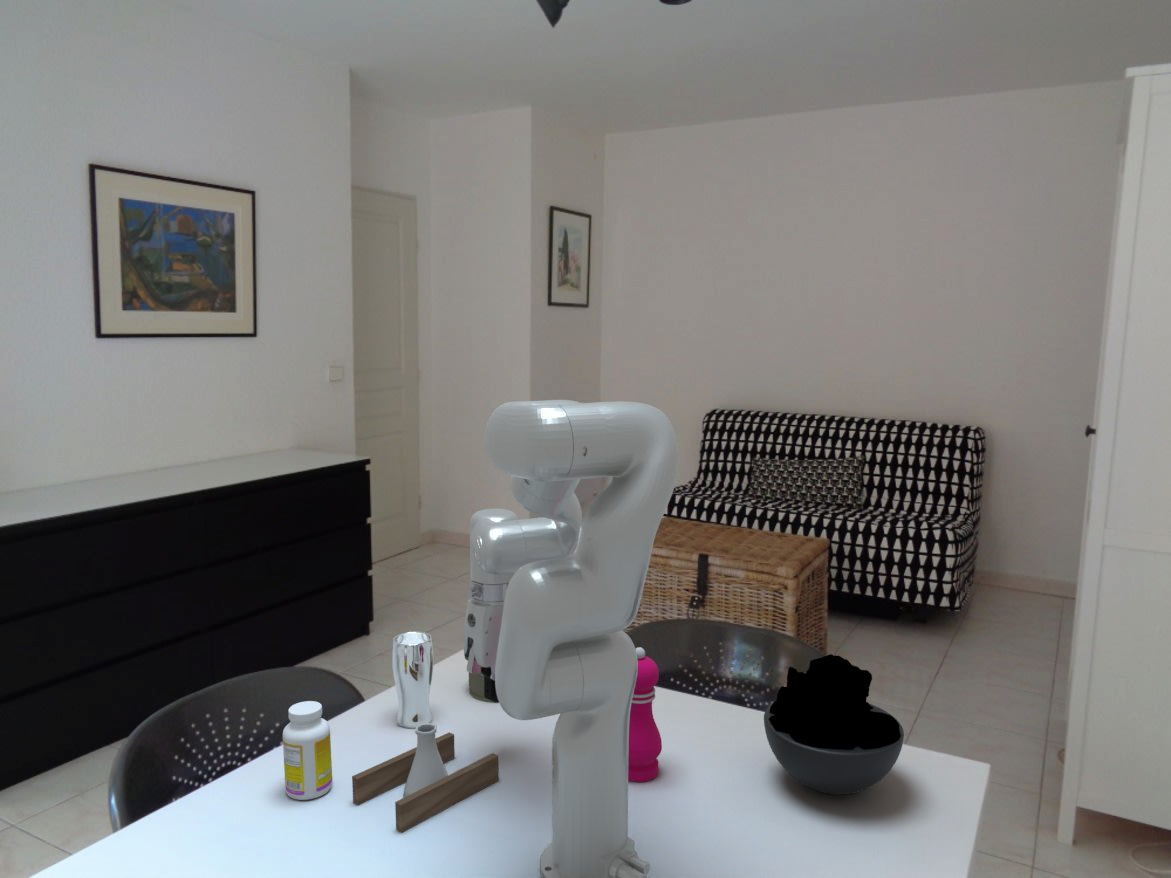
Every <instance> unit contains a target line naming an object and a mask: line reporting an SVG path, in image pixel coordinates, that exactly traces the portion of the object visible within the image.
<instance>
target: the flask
mask: <svg viewBox="0 0 1171 878" xmlns="http://www.w3.org/2000/svg"><path fill="white" fill-rule="evenodd" d="M414 729H415V730H414V733H415V735H416V736H417V740H416V741H417V743H416V747H417V750H416V754H415V757H414V760H413V764H412V767H411V770H410V773H409V776H408V778H407V781H406V782H405V785H404V788H403V794H402V795H403V796H402V798H404V797H406V796H408V795H410V794H412V793H414V792H416V791H418V790H420V789H422V788H424V787H426V786H428V785H430V784H432V783H434V782H436V781H438V780H440V779H442V778H444V777H446V776H448V775H449V773H448V771H447V769H446V766H445V763H444V764H443V762H442V759H441V757H440V754H439V751H438V749H437V744H436V739H435V738H436V733H437V729H438V724H434V723H432V722H430V723H421V724H420V725H418V726H416V728H414Z"/></svg>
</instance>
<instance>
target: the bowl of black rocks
mask: <svg viewBox="0 0 1171 878" xmlns="http://www.w3.org/2000/svg"><path fill="white" fill-rule="evenodd" d="M787 669H788V670H787V673H786V674H787V675H786V686H784V685H782V686H780V687H779V689H778V691H777V696H776V700H775V701H773V702H772V703H770V704H769V705H768V706H767V708H766V709H765V711H764V713H763V714H764V715H763V725H764V731H765V735H766V740H767V743H768V745H769V747H770V749H771V751H772V754H773V755H774V756H775V759H776V760H777V761H778V763H779V764H780V766H781V767H783V770H785V771H786V772H787V773H788V774H789V775H791V777H792V778H794V779H795V780H796V781H798V782H799V783H801V784H803V785H805V786H806V787H808V788H810V789H812V790H814V791H817V792H821V793H824V794H825V793H826V794H831V795H832V794H833V795H849V794H850V795H851V794H855V793H858V792H863V791H865V790H867V789H869V788H871V787H873V786H874V785H876V784H878V783H879V782H880V781H882V780H883V779H884V778H885V777H886V776H887V775H888V774H889V772H891V770H892V768H893V767H894V766H895V764H896V763H897V760H898V758H899V757H900V754H901V751H902V748H903V744H904V739H905V732H904V729H903V726H902V724H901V723H900V721H899V720H898V719H897V718H896V717H895V716H893V714H891V713H889V712H888V711H886V710H885V709H883V708H881V707H879V706H876V705H874V704H872V703H869V701H867V698H869V696H870V687H871V684H872V681H873V674H872V673H871V672H870V671H869V670H867V669H861V668H859V666H856V665H854V664H852V663H851V661H849V659H847V658H844V657H842V656H840V655H833V654H831V653H829V654H827V655H825V656H821V657H818V658H813V659H811V660H810V661H809V667H808V669H807V670H806V672H805V673H804V672H803V671H798V670H797V669H796V668H794V667H793V666H789V667H788V668H787Z"/></svg>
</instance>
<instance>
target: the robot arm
mask: <svg viewBox="0 0 1171 878" xmlns="http://www.w3.org/2000/svg"><path fill="white" fill-rule="evenodd" d="M484 449H485V453H486V456H487V458H488V461H489V462H490V464H491V465H492V466H493V467H494V468H495V469H496V470H498V471H499V472H501V473H503V474H506V475H509V476H510V484H509V486H510V490H511V495H512V496H513V498H514V499H515V501H516V502H517V503H518V505H520V506H521V507H522V508H524V509H525V510H526V511H528V512H530V513H532V514H534V515H536V516H540V517H533V518H532V517H531V518H522V519H519V517H518V515H517V514H516V513H515V512H514V511H512V510H509V509H506V508H484V509H481V510H477V511H476V512H475V513H473V514H472V516H471V518H470V522H469V524H470V525H469V536H470V537H469V538H470V539H469V541H470V542H469V545H470V547H469V548H470V549H469V550H470V551H469V553H470V554H469V555H470V557H469V558H470V560H469V561H470V562H469V563H470V567H469V568H470V577H469V578H470V579H469V580H470V581H469V582H470V583H469V584H470V585H469V586H470V588H469V589H467V590H466V595H467V597H468V598H469V599H468V600H467V605H466V611H465V618H464V628H463V654H464V659H465V660H466V661H467V665H466V672H467V673H469V672H470V673H472V674H477V673H481V675H483V676H484V696H485V698H487V699H489V700H491V701H493V702H495V703H494V704H499V705H500V707H501V708H502V710H503V711H504V713H506V715H507V716H509V717H511V718H512V719H515V720H518V721H532V720H538V719H542V718H546V717H552V716H555V715H558V718H557V721H556V724H555V727H554V729H553V734H552V741H551V744H552V745H551V761H552V762H551V767H552V768H551V775H552V776H551V780H552V781H551V785H552V786H551V787H552V788H551V789H552V790H551V794H552V795H551V796H552V797H551V799H552V801H551V803H552V804H551V807H552V812H551V813H552V814H551V815H552V818H551V820H552V821H551V823H552V825H551V826H552V827H551V828H552V832H551V834H552V835H551V837H552V838H551V839H552V841H551V843H549V844H548V845H547V846H546V847H545V848H544V850H543V851H542V854H541V855H540V860H539V870H540V875H541V878H647V875H648V873H649V872H650V870H651V864H650V863H649V862H647V861H644V860H643V859H641V858H640V857H639V855H638V852H637V851H636V848H635V840H634V839H632V838H630V837H628V836H629V832H628V831H629V824H628V823H629V780H628V753H629V721H630V710H631V703H632V698H633V693H634V688H635V684H636V678H637V669H638V660H637V653H636V646H635V643H633V640H632V639H631V637H630V636H629V635H628V633H626V631H624V630H625V629H626V628H628V627H630V625H631V624H633V622H634V620H635V619H636V617H637V613H638V610H639V608H640V604H641V601H642V598H643V597H642V596H643V592H644V587H645V583H646V579H647V574H648V569H649V566H650V562H651V556H652V552H653V548H654V547H653V546H654V542H655V538H656V535H657V532H658V530H659V527H660V524H661V522H662V519H663V517H664V514H665V513H666V510H667V508H668V505H669V503H670V501H671V498H672V495H673V492H674V489H675V487H676V482H677V478H678V473H679V472H678V471H679V458H680V457H679V446H678V440H677V435H676V432H675V429H674V427H673V424H672V421H670V419H669V417H668V416H667V415H666V414H665V413H664V412H663V411H662V410H660V408H657V407H655V406H653V405H650V404H647V403H643V402H636V401H622V400H621V401H599V402H598V401H595V402H594V401H593V402H579V401H576V400H571V399H570V400H569V399H549V400H548V399H547V400H524V401H523V400H522V401H510V402H509V401H508V402H504V403H502V404H500V405H498V406H497V407H496V408H495V410H494V411H493V412H492V413H491V415H490V416H489V419H488V420H487V423H486V427H485V432H484ZM606 477H612V479H611V482H609V484H608V485H607V486H606V487H605V488H604V489H603V490H602V491H601V492H600V493H599V494H598V496H596V498H595V499H594V500H593V501H592V503H591V504H590V506H589V508H588V509H587V511H586V512H585V514H584V516H583V512H582V507H581V504H580V501H579V498H578V497H577V494H576V493H575V491H576V488H577V486H578V485H579V483H580V481H581V480H584V479H597V478H606ZM498 702H499V703H498Z"/></svg>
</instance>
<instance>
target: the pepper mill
mask: <svg viewBox="0 0 1171 878" xmlns="http://www.w3.org/2000/svg"><path fill="white" fill-rule="evenodd" d="M635 649H636V653H637V660H638V669H637V678H636V684H635V688H634V693H633V698H632V703H631V710H630V721H629V753H628V782H629V781H630V782H633V783H634V782H635V783H643V782H649V781H651V780H652V781H653V780H654V779H655V778H657V776H658V775H659V760H658V758H659V756H660V755H661V753H662V750H663V744H662V743H663V742H662V737H661V733H660V731H659V728H658V725H657V723H656V722H655V721H656V720H655V718H654V714H653V701H654V700H655V699H656V688H655V686H656V685H657V683H658V681H659V677H660V676H659V675H660V672H659V668H658V665H657V664H656V662H655V661H654V660H653V659H652V658H650V657H648V656H646V651H645V649H644V648H643V647H638V646H637V647H635Z"/></svg>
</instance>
